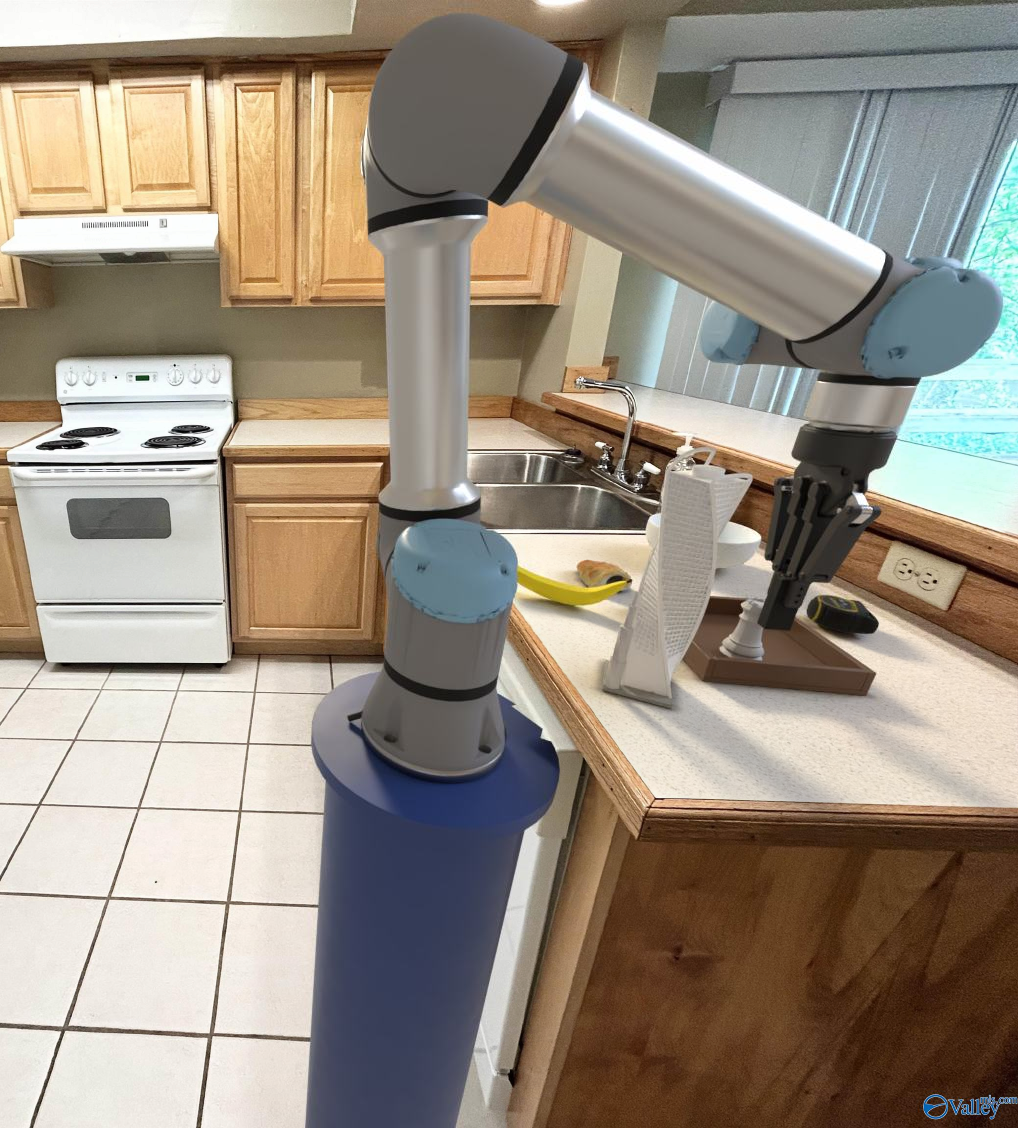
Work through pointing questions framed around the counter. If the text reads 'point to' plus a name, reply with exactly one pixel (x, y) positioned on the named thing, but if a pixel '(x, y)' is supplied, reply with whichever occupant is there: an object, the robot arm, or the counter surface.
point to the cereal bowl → (720, 542)
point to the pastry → (601, 574)
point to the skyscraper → (674, 581)
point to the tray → (774, 656)
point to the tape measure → (841, 615)
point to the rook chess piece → (746, 633)
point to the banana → (567, 589)
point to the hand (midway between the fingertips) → (773, 626)
